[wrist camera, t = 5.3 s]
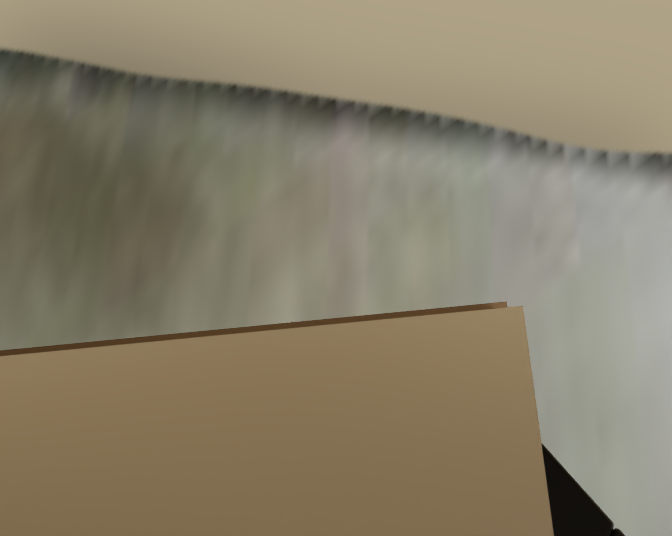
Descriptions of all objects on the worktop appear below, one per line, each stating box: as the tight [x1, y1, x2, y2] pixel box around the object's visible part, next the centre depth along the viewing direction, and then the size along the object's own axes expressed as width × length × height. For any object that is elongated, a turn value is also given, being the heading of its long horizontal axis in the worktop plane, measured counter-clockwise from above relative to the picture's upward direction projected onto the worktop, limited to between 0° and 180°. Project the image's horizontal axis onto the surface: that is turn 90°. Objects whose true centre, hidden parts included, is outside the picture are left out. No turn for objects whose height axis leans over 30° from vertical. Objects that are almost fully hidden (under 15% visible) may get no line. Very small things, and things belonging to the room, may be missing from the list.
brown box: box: [0, 302, 554, 536], centre depth 9 cm, size 4×4×12 cm
